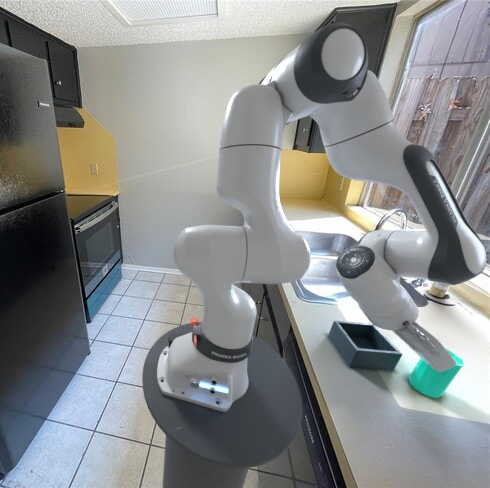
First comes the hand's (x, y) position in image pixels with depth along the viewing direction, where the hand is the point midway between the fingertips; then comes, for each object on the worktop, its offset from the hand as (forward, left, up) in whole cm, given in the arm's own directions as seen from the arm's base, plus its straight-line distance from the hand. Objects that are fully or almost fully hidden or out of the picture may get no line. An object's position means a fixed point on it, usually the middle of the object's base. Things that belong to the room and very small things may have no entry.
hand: (414, 344), depth 59 cm
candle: (+7, -1, -12) cm, 14 cm away
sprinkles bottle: (+46, +43, -12) cm, 64 cm away
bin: (-3, +9, -12) cm, 15 cm away
